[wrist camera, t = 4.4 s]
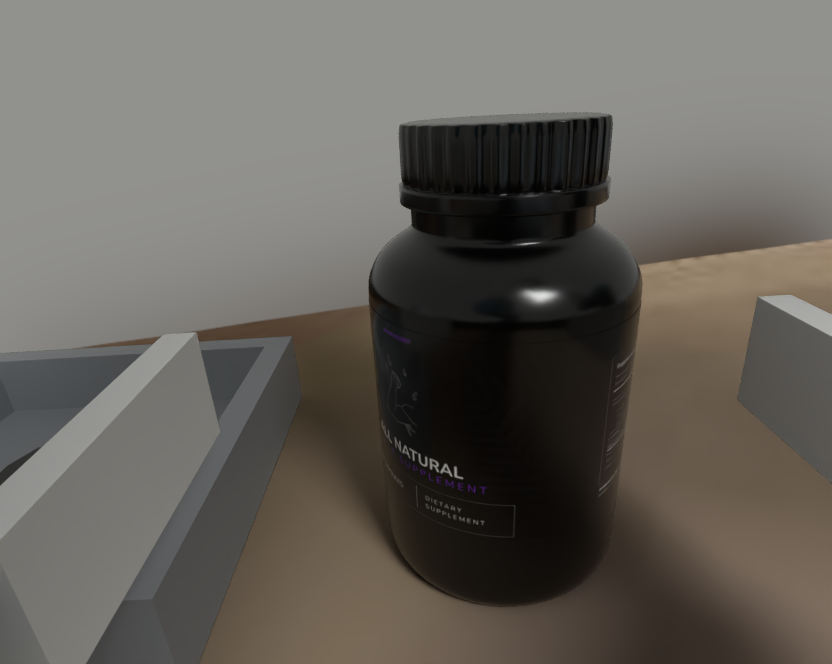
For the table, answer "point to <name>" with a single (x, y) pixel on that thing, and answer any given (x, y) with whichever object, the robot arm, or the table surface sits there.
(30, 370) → the tray
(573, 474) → the supplement bottle
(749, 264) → the table surface
